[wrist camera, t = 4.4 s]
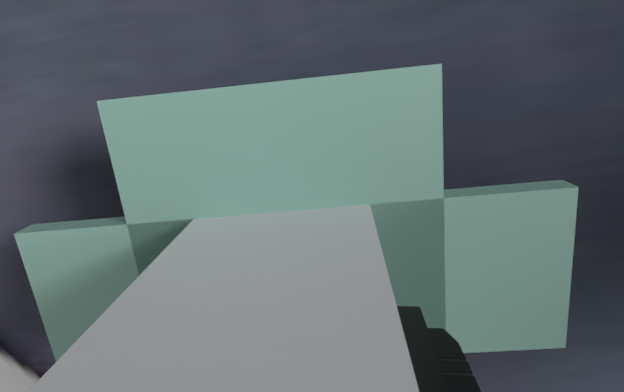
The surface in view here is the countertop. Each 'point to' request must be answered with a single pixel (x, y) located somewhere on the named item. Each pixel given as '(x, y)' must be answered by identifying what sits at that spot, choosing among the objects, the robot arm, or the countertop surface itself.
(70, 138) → the countertop surface
